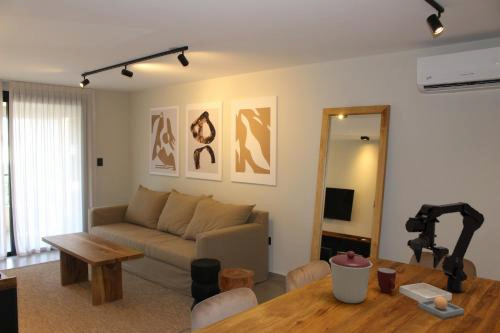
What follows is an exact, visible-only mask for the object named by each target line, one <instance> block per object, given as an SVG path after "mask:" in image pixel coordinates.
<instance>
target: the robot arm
mask: <svg viewBox="0 0 500 333" xmlns="http://www.w3.org/2000/svg"><path fill="white" fill-rule="evenodd" d="M453 213H459V214H460V216H462V227H463V228H462V230H461V232H460V235H459V237H458V238H457V241H456V243H455V246H454V248H453V251H452V253H451V255H449V254H450V251H449V248H447V247H444V246H437V243H435V241H436V240H435V238H437V236H438V235H437V234H436V224H437V223H438V224H439V223H441V222H440V220H439V219H438V218H439V217H441V216H443V215H445V214H453ZM484 222H485V216H484V214H483V213H481V212H480V211H478V210H477V209H475V208H474V207H473V206H471V205H470V204H469V203H468V202H463V201H459V202H454V203H446V204H429V203H428V204H427V203H424V204H422V205H421V207H420V209H419V210H418V212H416V214H415V215H414V217H408V220H406V222H405V230H406V231H407V233H419V234H418V237H415V238H413V239H409V240H407V243H406V245H407V247H408V248H409V249H411V250H412V251H413V253H414V256H415V259H416V260H415V261H416V262H417V263H418V264H420V261H421V258H422V252H423V249H426V250H429V251H431V252H432V253H431V255H432V258H433V265H432V266H433V269H437V267H438V265H439V264H440V262H441V261H442V259H443V258H444V259H443V261H442V263H441V269H442V271H443V273H444V276H447V280H446V287H443V289H444V290H445V291H446V290H447V292H450V293H453V294H461V293H465V292H466V290H464V289H463V282H464V281H467V279H468V275H467V274H466V272H464V271H463V270H464V267H465V266H464V258H465V256H466V254H467V250H468V248H469V247H470V243H471V241H472V239H473V236H474V234H475V232H476V231H478V230H479V229H480V228H481V227H482V225H483V224H484ZM448 255H449V256H448Z"/></svg>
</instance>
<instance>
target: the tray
mask: <svg viewBox="0 0 500 333" xmlns="http://www.w3.org/2000/svg"><path fill="white" fill-rule="evenodd" d="M434 300H435V299H433V300H427V301H422V302H419V301H417V308H419V309H421V310H423V311H425V312H427V313H429V314H431V315H434V316H436V317H438V318H439V319H442V320H445V319H450V318H453V317H454V318H455V317H458V316H463V315H465V309H464V308H462V307H460V306H457V305H456V304H453V303H451V302H449V301H447V307H446V308H445V309H438V308H437V307H436V306H435V305H434Z"/></svg>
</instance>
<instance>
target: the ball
mask: <svg viewBox="0 0 500 333" xmlns="http://www.w3.org/2000/svg"><path fill="white" fill-rule="evenodd" d="M447 302H448V301H447V300H446V299H445V298H443V297H436V298H435V300H434V305H435V306H436V307H437V308H438V309H445V308H446V307H447Z"/></svg>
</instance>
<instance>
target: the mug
mask: <svg viewBox="0 0 500 333" xmlns="http://www.w3.org/2000/svg"><path fill="white" fill-rule="evenodd" d="M376 271H377V274H376V276H377V282H378V288H379V289H380V291H381V293H384V294H390V293H391V292H392V291H393V290H395V288H396V283H395V282H396V278H397V271H396V270H395V269H393V268H388V267H379V268H377V270H376Z"/></svg>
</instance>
